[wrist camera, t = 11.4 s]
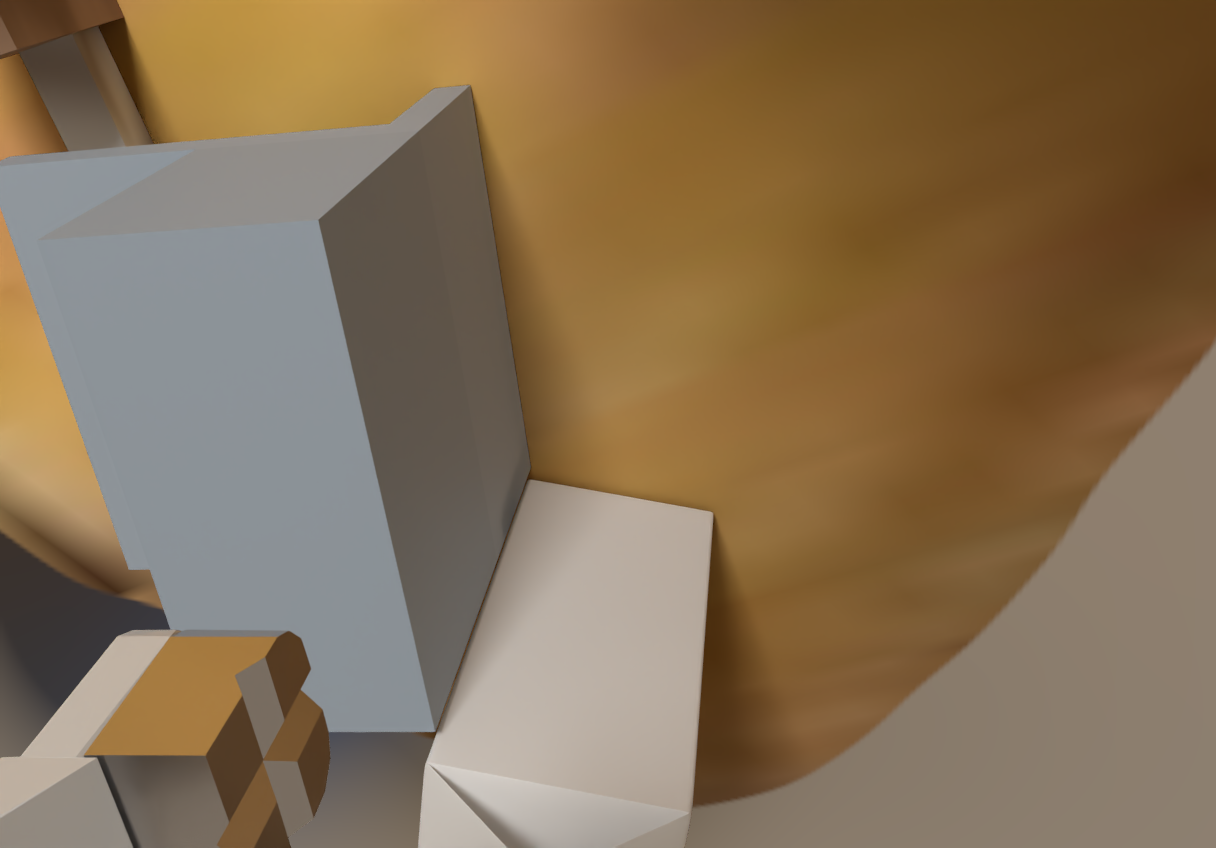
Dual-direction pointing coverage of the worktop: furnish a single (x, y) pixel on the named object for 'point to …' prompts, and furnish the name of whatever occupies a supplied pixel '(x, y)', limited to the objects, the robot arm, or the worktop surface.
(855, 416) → the worktop surface
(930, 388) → the worktop surface
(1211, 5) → the worktop surface
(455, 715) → the milk carton
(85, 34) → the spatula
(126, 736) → the robot arm
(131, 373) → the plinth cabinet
